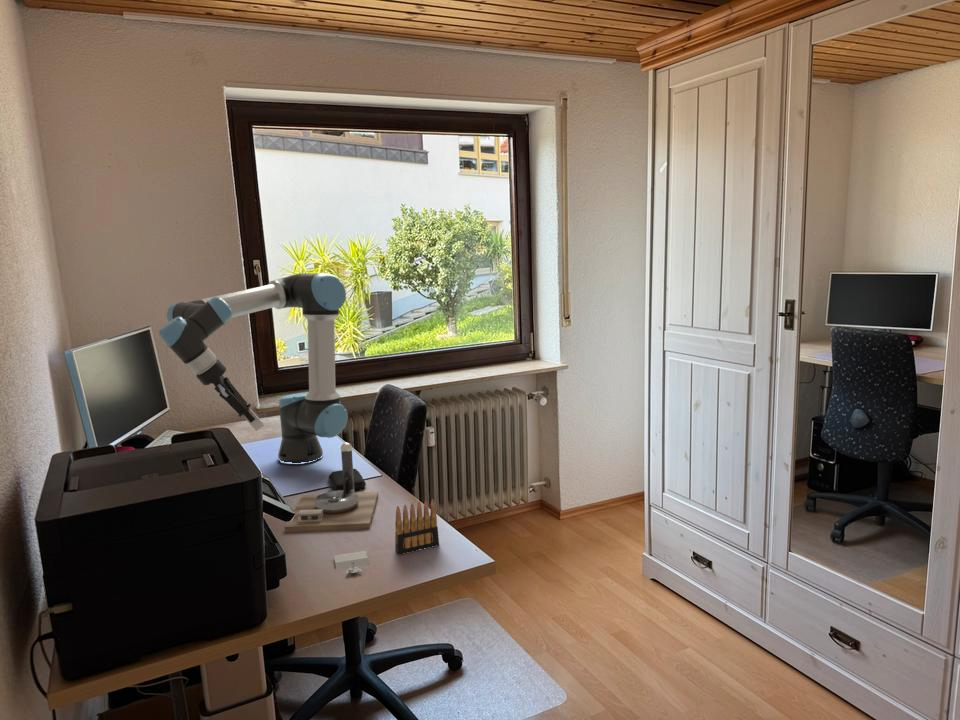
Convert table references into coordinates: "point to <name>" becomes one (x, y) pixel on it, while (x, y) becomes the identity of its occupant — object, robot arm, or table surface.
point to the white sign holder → (351, 561)
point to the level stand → (332, 515)
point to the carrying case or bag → (337, 480)
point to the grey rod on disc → (341, 498)
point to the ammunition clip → (416, 529)
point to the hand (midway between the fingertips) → (259, 427)
